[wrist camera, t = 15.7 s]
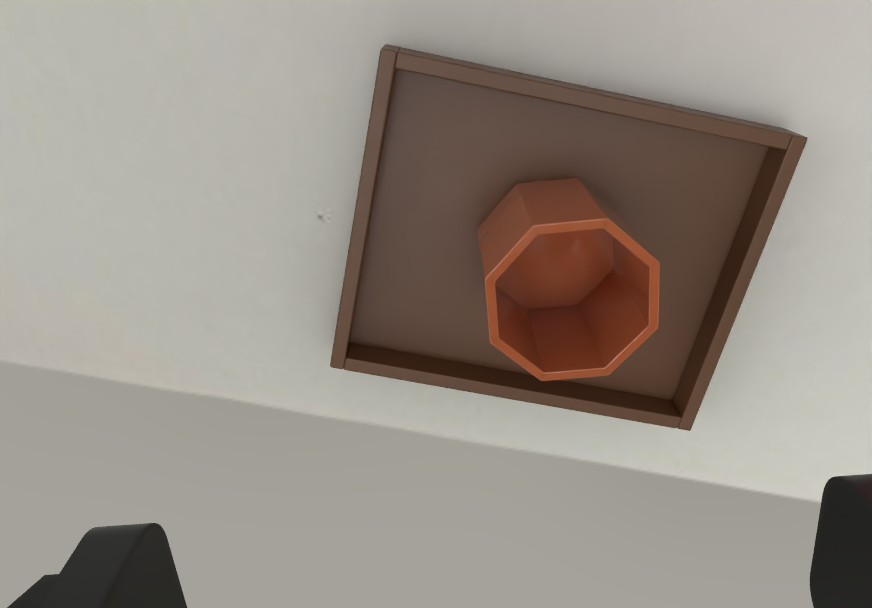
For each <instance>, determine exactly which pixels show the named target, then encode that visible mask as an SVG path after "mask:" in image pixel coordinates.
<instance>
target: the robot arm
mask: <svg viewBox="0 0 872 608" xmlns="http://www.w3.org/2000/svg"><path fill="white" fill-rule="evenodd" d="M810 591H811V597H812V602H813V606H814V608H872V474H865V475H851V476H837V477H832V478H831V479H829V480H828V482H827V483H826V485H825V487H824V491H823V496H822V502H821V509H820V515H819V522H818V529H817V534H816V540H815V547H814V554H813V559H812V566H811V572H810ZM7 608H187V606H186V602H185V599H184V595H183V592H182V588H181V585H180V582H179V578H178V575H177V571H176V568H175V564H174V561H173V557H172V554H171V550H170V547H169V543H168V540H167V537H166V534H165V532H164V530H163V528H162V527H161V526H160V525H159V524H156V523H148V524H136V525H121V526H107V527H95V528H92V529H91V530H89V531H88V532H87V533H86V534H85V535H84V537H83V538H82V539H81V541H80V543H79V544H78V546H77V547H76V549H75V551H74V552H73V554H72V555H71V557H70V558H69V560H68V561H67V563H66V564H65V566H64V568H63V569H62V571H61V572H60V574H55V575H44V576H43V577H42V578H41V579H40V580H39V581H37V582H36V583H35V584H34V585H33V586H32V587H30V589H28V590H27V591H26V592H25V593H24V594H22V595H21V596H20V597H19V598H18V599H17V600H16V601H14V602H13V603H12V604H11V605H10V606H9V607H7Z"/></svg>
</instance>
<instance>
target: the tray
mask: <svg viewBox="0 0 872 608" xmlns="http://www.w3.org/2000/svg"><path fill="white" fill-rule="evenodd" d="M806 141H807V137H804V136H802V135H799V134H797V133H794V132H792V131H789V130H787V129H784V128H779V127H774V126H770V125H765V124H760V123H756V122H751V121H746V120H741V119H737V118H732V117H727V116H722V115H718V114H713V113H708V112H703V111H699V110H694V109H689V108H684V107H680V106H675V105H670V104H666V103H661V102H656V101H651V100H647V99H642V98H637V97H632V96H628V95H623V94H618V93H613V92H609V91H604V90H599V89H595V88H590V87H585V86H580V85H576V84H571V83H566V82H561V81H557V80H552V79H547V78H542V77H538V76H533V75H528V74H523V73H519V72H514V71H509V70H505V69H500V68H495V67H490V66H486V65H481V64H476V63H471V62H467V61H462V60H457V59H452V58H448V57H443V56H438V55H434V54H429V53H424V52H419V51H415V50H410V49H405V48H400V47H396V46H391V45H384V47H383V48H382V49H381V51H380V57H379V63H378V70H377V76H376V82H375V88H374V95H373V101H372V107H371V113H370V120H369V126H368V132H367V138H366V145H365V151H364V157H363V163H362V170H361V176H360V182H359V188H358V195H357V201H356V207H355V213H354V220H353V226H352V232H351V238H350V245H349V251H348V257H347V263H346V270H345V276H344V282H343V288H342V295H341V301H340V307H339V313H338V319H337V326H336V332H335V338H334V344H333V351H332V357H331V363H330V366H331V367H333V368H339V369H343V368H344V369H345V370H349V371H355V372H361V373H366V374H372V375H378V376H383V377H389V378H395V379H400V380H406V381H411V382H417V383H423V384H428V385H434V386H440V387H445V388H451V389H457V390H462V391H468V392H474V393H479V394H485V395H491V396H496V397H502V398H508V399H513V400H519V401H525V402H530V403H536V404H542V405H547V406H553V407H559V408H564V409H570V410H576V411H581V412H587V413H593V414H598V415H604V416H610V417H615V418H621V419H627V420H632V421H638V422H644V423H649V424H655V425H661V426H666V427H672V428H678V429H683V430H689V431H690V430H691V428H692V425H693V423H694V420H695V418H696V415H697V413H698V410H699V408H700V405H701V403H702V400H703V398H704V395H705V393H706V390H707V388H708V385H709V383H710V380H711V378H712V375H713V373H714V370H715V368H716V365H717V363H718V360H719V358H720V355H721V353H722V350H723V348H724V345H725V343H726V340H727V338H728V336H729V333H730V331H731V328H732V326H733V323H734V321H735V318H736V316H737V313H738V311H739V308H740V306H741V303H742V301H743V298H744V296H745V293H746V291H747V288H748V286H749V283H750V281H751V278H752V276H753V273H754V271H755V268H756V266H757V263H758V261H759V258H760V256H761V253H762V251H763V248H764V246H765V243H766V241H767V238H768V236H769V233H770V231H771V228H772V226H773V224H774V221H775V219H776V216H777V214H778V211H779V209H780V206H781V204H782V201H783V199H784V196H785V194H786V191H787V189H788V186H789V184H790V181H791V179H792V176H793V174H794V171H795V169H796V166H797V164H798V161H799V159H800V156H801V154H802V151H803V149H804V146H805V144H806ZM569 178H579V179H580V180H582V181H583V182H584V183H585V184H586V185H587V186H588V187H590V188H591V189H592V190H593V191H594V192H595V193H597V194H598V195H599V196H600V197H601V198H602V199H604V200H605V201H606V202H607V203H608V204H609V205H611V206H612V207H613V208H614V209H615V210H616V211H618V212H619V213H620V214H621V215H622V216H623V218H624V219H625V220H626V221H627V222H628V224H629V225H630V226H631V227H632V229H633V230H634V231H635V232H636V234H637V235H638V236H639V237H640V239H641V240H642V241H643V242H644V243H645V245H646V246H647V247H648V248H649V250H650V251H651V252H652V253H653V255H654V256H655V257H656V258H657V260H658V261H659V263H660V280H659V323H658V329H657V330H656V331H655V332H653V333H652V334H651V335H650V336H649V337H648V338H647V339H646V340H645V341H644V342H643V343H642V344H641V345H640V346H639V347H638V348H637V349H636V350H635V351H634V352H633V353H632V354H631V355H630V356H629V357H627V358H626V359H625V360H624V361H623V362H622V363H621V364H620V365H619V366H618V367H617V368H616V369H615V370H614V371H613V372H612V373H611V374H610V375H607V376H595V377H584V378H572V379H560V380H549V381H540V380H539V379H537V378H536V377H535V376H533V375H532V374H531V373H529V372H528V371H527V370H525V369H524V368H523V367H521V366H520V365H519V364H517V363H516V362H515V361H513V360H512V359H511V358H509V357H508V356H507V355H505V354H504V353H503V352H501V351H500V350H499V349H498V348H496V347H495V346H494V345H492V344H491V343H490V341H489V334H488V327H487V320H486V313H485V306H484V299H483V292H482V285H481V274H480V262H479V250H478V238H477V228H478V227H479V226H480V225H481V224H482V223H483V221H484V220H485V219H486V218H487V217H488V216H489V215H490V213H491V212H492V210H493V209H494V208H495V206H496V205H497V204H498V203H499V202H500V201H501V200H502V199H503V198H504V197H505V196H506V195H507V194H508V193H509V192H510V191H511V189H512V188H513V187H514V186H515V185H516V184H518V183H528V182H535V181H540V180H546V179H569Z"/></svg>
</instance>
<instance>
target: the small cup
mask: <svg viewBox="0 0 872 608" xmlns="http://www.w3.org/2000/svg"><path fill="white" fill-rule="evenodd" d="M477 238H478V250H479V262H480V274H481V285H482V292H483V299H484V306H485V313H486V320H487V327H488V334H489V341H490V343H491V344H492V345H494V346H495V347H496V348H498V349H499V350H500V351H501V352H503V353H504V354H505V355H507V356H508V357H509V358H511V359H512V360H513V361H515V362H516V363H517V364H519V365H520V366H521V367H523V368H524V369H525V370H527V371H528V372H529V373H531V374H532V375H533V376H535V377H536V378H537V379H539V380H540V381H549V380H560V379H572V378H584V377H595V376H607V375H610V374H611V373H612V372H613V371H614V370H615V369H616V368H617V367H618V366H619V365H620V364H621V363H622V362H623V361H624V360H625V359H626V358H627V357H629V356H630V355H631V354H632V353H633V352H634V351H635V350H636V349H637V348H638V347H639V346H640V345H641V344H642V343H643V342H644V341H645V340H646V339H647V338H648V337H649V336H650V335H651V334H652V333H653V332H655V331H656V330H657V329H658V323H659V280H660V263H659V261H658V260H657V258H656V257H655V256H654V255H653V253H652V252H651V251H650V250H649V248H648V247H647V246H646V245H645V243H644V242H643V241H642V240H641V239H640V237H639V236H638V235H637V234H636V232H635V231H634V230H633V229H632V227H631V226H630V225H629V224H628V222H627V221H626V220H625V219H624V218H623V216H622V215H621V214H620V213H619V212H618V211H616V210H615V209H614V208H613V207H612V206H611V205H609V204H608V203H607V202H606V201H605V200H604V199H602V198H601V197H600V196H599V195H598V194H597V193H595V192H594V191H593V190H592V189H591V188H590V187H588V186H587V185H586V184H585V183H584V182H583V181H582V180H580V179H579V178H569V179H546V180H540V181H535V182H528V183H518V184H516V185H515V186H514V187H513V188H512V189H511V191H510V192H509V193H508V194H507V195H506V196H505V197H504V198H503V199H502V200H501V201H500V202H499V203H498V204H497V205H496V206H495V208H494V209H493V210H492V212H491V213H490V215H489V216H488V217H487V218H486V219H485V220H484V221H483V223H482V224H481V225H480V226H479V227H478V228H477Z"/></svg>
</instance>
